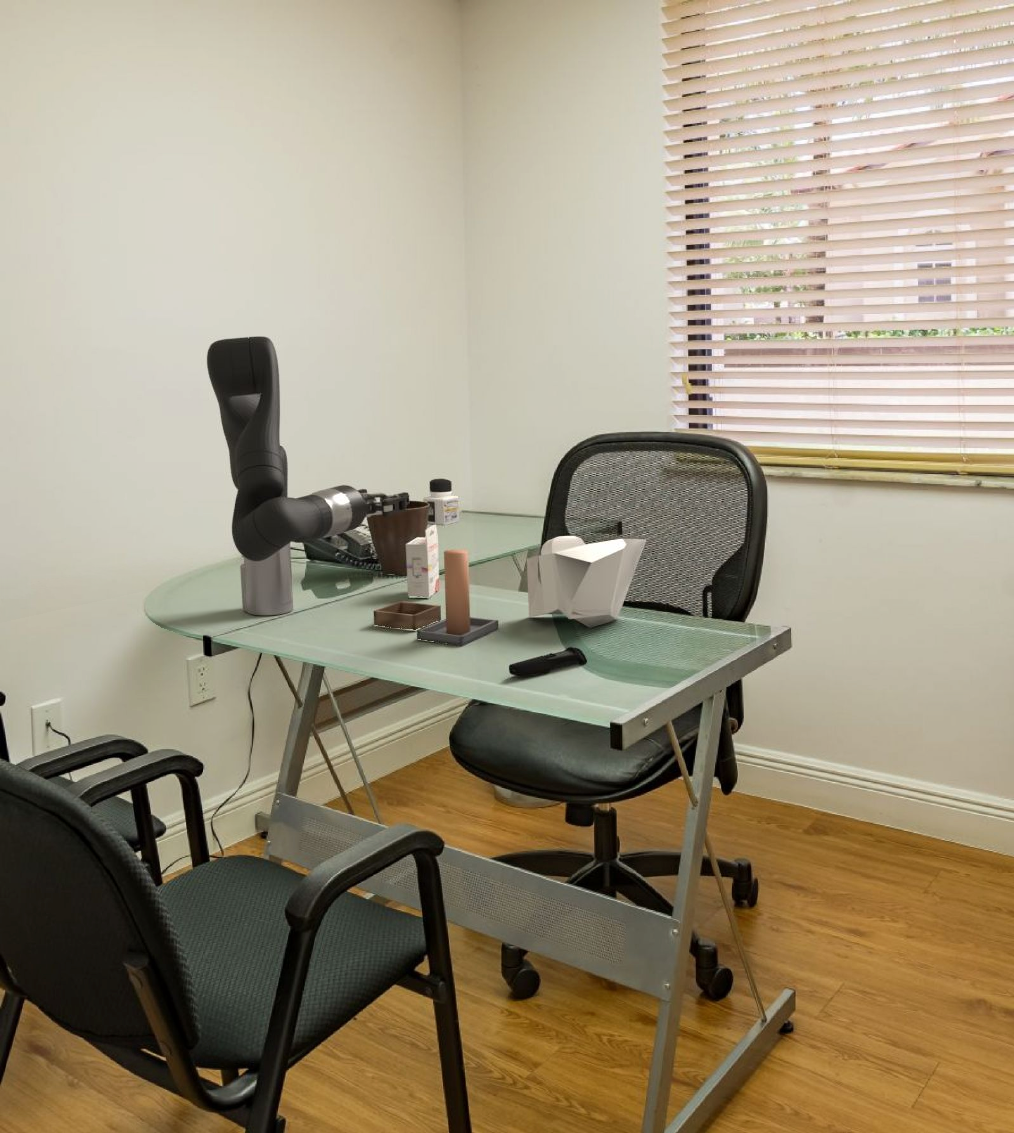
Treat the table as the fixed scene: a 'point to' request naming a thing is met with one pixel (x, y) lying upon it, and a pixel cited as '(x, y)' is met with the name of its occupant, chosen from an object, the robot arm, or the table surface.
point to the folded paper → (582, 578)
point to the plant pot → (397, 535)
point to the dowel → (457, 591)
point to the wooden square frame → (407, 615)
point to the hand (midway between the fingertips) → (385, 496)
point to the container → (442, 503)
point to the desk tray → (477, 630)
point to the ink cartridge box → (423, 564)
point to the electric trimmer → (548, 662)
